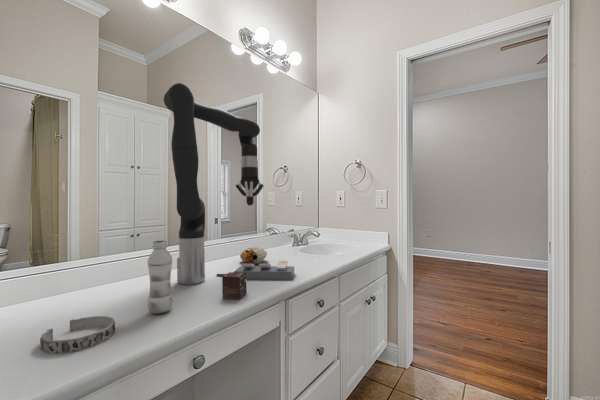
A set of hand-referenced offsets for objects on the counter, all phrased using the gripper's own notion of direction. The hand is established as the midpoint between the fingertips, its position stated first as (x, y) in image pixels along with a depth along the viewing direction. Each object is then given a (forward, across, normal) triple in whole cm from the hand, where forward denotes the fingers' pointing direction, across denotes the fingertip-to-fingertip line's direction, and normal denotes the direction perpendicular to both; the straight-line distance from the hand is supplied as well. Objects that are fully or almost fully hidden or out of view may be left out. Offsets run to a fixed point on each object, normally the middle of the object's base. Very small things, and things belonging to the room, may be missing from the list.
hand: (250, 205), depth 130 cm
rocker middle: (+25, +9, -12) cm, 30 cm away
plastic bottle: (+29, -13, -50) cm, 59 cm away
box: (+29, +4, -36) cm, 47 cm away
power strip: (+29, +4, -12) cm, 32 cm away
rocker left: (+25, +2, -12) cm, 28 cm away
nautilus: (+29, -4, +11) cm, 32 cm away
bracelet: (+30, -23, -66) cm, 76 cm away
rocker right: (+25, +16, -12) cm, 32 cm away
